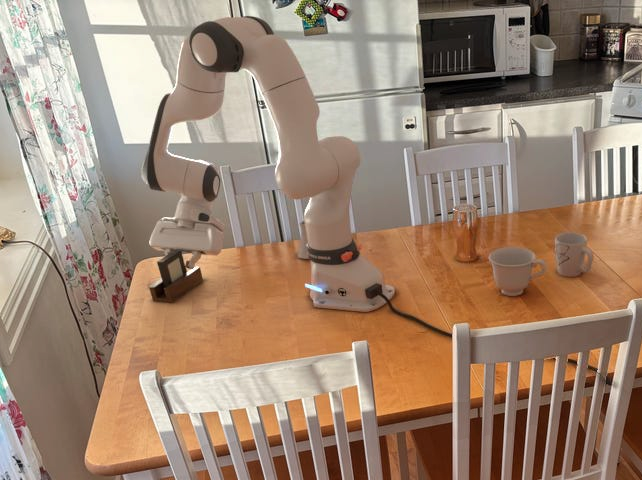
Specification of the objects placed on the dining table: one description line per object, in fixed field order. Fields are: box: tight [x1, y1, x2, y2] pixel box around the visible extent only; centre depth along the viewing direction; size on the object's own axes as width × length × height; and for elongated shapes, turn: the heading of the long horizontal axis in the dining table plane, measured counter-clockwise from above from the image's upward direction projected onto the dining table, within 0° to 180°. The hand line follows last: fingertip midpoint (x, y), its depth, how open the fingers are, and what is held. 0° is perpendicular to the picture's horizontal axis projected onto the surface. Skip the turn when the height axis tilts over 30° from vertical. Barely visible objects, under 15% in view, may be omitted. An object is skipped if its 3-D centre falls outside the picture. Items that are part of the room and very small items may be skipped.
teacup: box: [488, 246, 547, 297], centre depth 187 cm, size 12×15×10 cm
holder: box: [149, 266, 204, 304], centre depth 195 cm, size 14×6×4 cm, turn 165°
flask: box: [297, 220, 310, 260], centre depth 211 cm, size 7×7×10 cm
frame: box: [156, 250, 188, 288], centre depth 193 cm, size 8×2×9 cm, turn 165°
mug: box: [554, 231, 594, 278], centre depth 195 cm, size 11×8×10 cm
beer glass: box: [452, 203, 479, 263], centre depth 205 cm, size 7×7×15 cm
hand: (179, 267), depth 195 cm, fingers open, 5 cm apart
